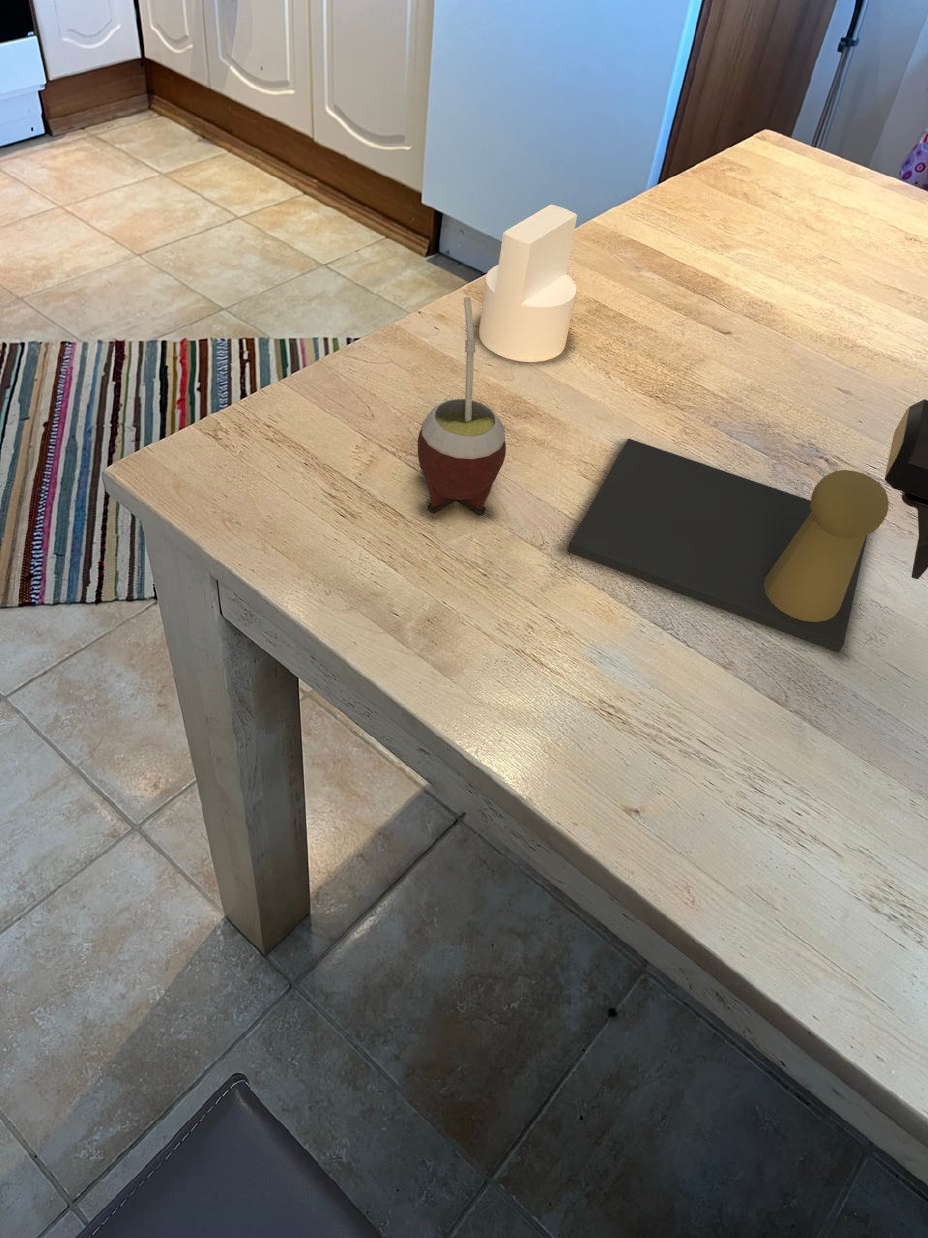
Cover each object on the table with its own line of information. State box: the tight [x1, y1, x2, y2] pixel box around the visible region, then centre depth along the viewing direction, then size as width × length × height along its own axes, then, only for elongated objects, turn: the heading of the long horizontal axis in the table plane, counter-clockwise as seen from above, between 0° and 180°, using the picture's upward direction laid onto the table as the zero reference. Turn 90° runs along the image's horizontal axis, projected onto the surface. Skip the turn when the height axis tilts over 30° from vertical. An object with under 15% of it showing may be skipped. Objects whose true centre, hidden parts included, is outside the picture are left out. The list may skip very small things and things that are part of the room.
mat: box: [567, 438, 868, 653], centre depth 79 cm, size 22×16×1 cm
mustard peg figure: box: [764, 469, 890, 622], centre depth 70 cm, size 6×6×11 cm
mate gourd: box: [417, 296, 507, 517], centre depth 74 cm, size 8×8×15 cm
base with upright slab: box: [478, 204, 578, 363], centre depth 93 cm, size 9×9×12 cm
